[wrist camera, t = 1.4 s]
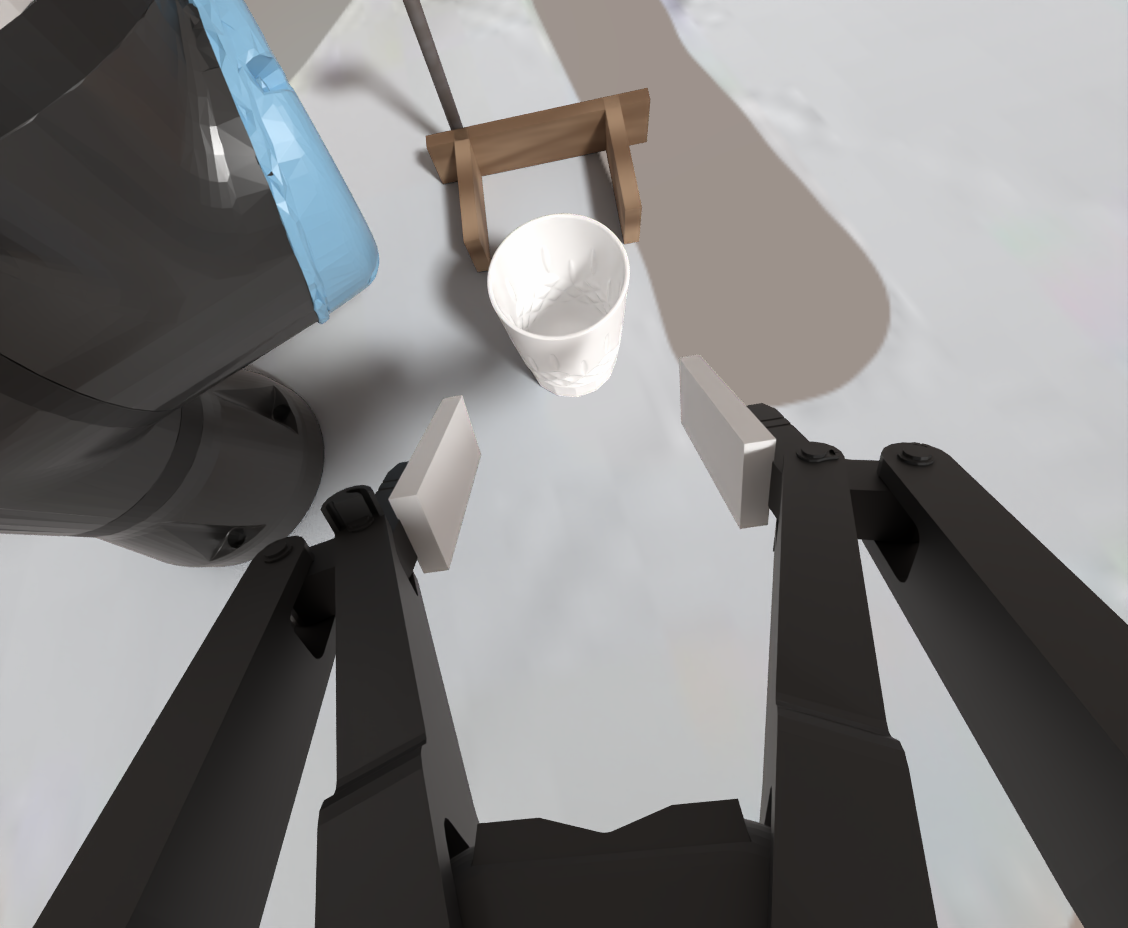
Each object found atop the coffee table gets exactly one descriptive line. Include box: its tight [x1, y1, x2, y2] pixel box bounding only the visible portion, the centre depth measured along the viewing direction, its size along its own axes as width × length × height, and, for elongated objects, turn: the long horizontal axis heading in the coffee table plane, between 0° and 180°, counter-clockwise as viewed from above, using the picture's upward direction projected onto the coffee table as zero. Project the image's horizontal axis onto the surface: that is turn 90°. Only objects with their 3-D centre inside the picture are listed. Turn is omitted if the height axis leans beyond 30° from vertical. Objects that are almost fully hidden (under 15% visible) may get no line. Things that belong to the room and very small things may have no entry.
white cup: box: [487, 213, 630, 397], centre depth 29 cm, size 8×8×10 cm
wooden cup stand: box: [403, 0, 650, 272], centre depth 29 cm, size 12×20×16 cm, turn 98°
